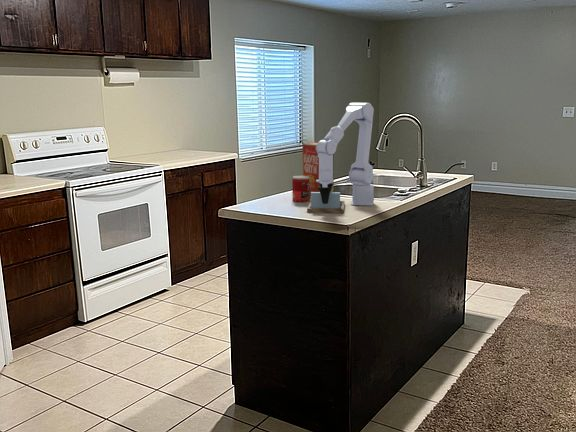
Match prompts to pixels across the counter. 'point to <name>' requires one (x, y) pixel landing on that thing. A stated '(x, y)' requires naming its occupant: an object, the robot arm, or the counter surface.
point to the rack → (326, 209)
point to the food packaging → (312, 166)
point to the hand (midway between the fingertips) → (325, 201)
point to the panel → (332, 202)
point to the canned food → (300, 188)
